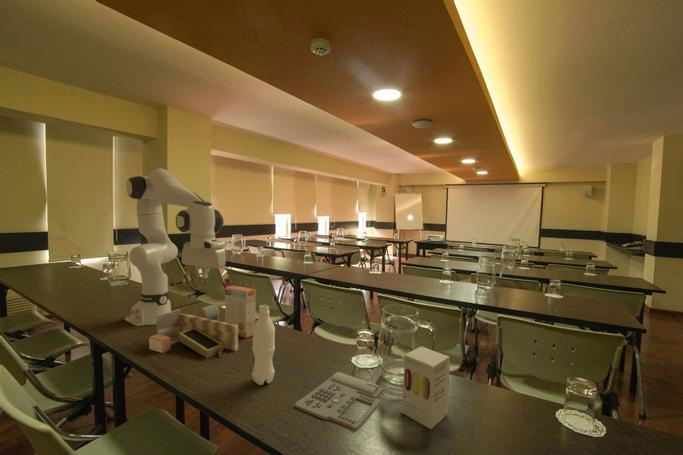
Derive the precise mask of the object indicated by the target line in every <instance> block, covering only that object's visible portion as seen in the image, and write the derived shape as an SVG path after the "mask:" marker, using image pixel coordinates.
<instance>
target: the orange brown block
mask: <svg viewBox="0 0 683 455" xmlns="http://www.w3.org/2000/svg"><path fill="white" fill-rule="evenodd" d="M148 337H149V338H148V349H149V350H151V351H153V352H157V353H160V354H164V353H166V352H169V351H171V347H172V346H171V339H170V337H167V336H163V335H160V334H154V335H151V336H148Z"/></svg>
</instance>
